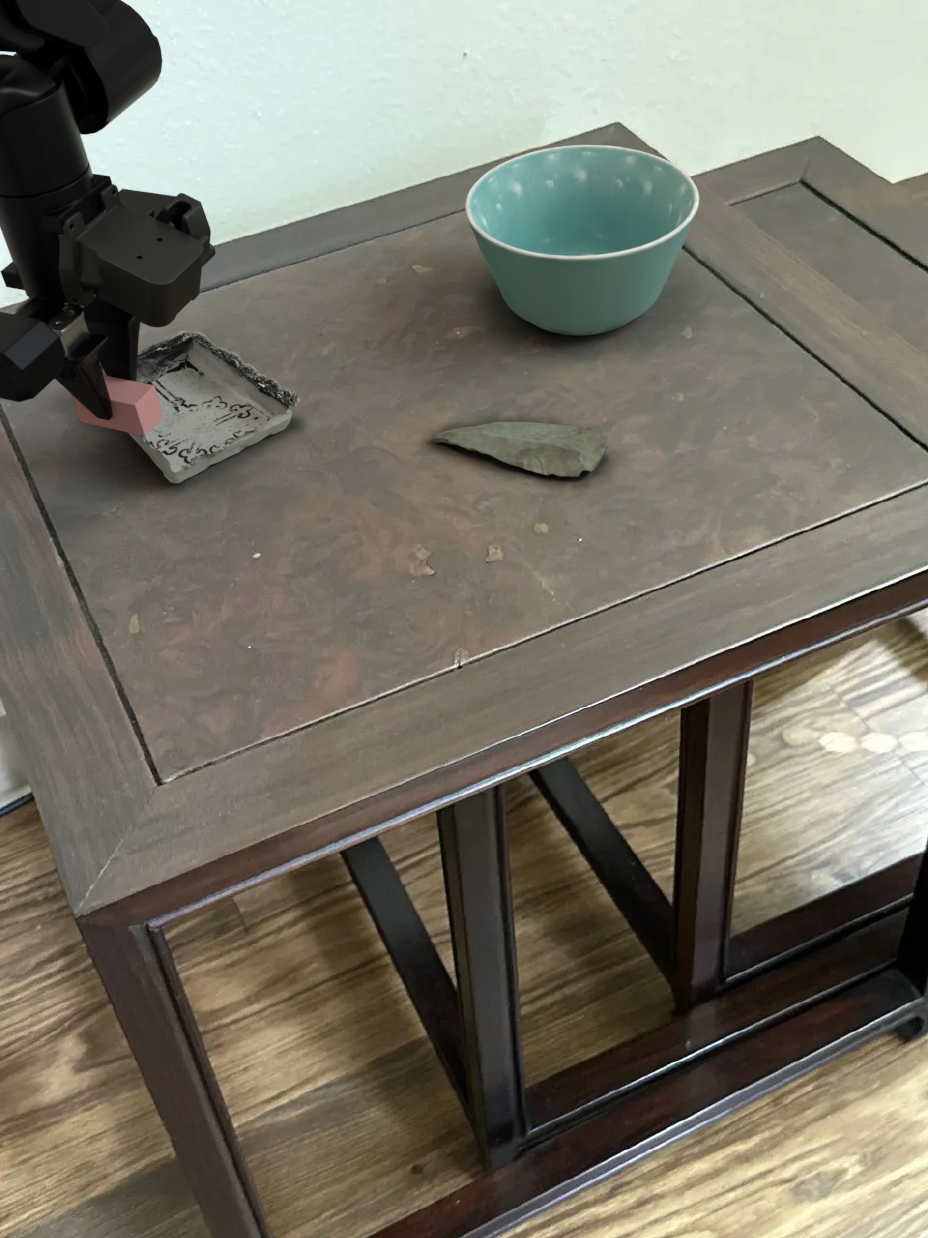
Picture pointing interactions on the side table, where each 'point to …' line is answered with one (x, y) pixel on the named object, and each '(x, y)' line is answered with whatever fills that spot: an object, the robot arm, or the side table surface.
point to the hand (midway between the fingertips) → (116, 406)
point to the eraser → (127, 407)
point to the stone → (533, 445)
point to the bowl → (582, 233)
